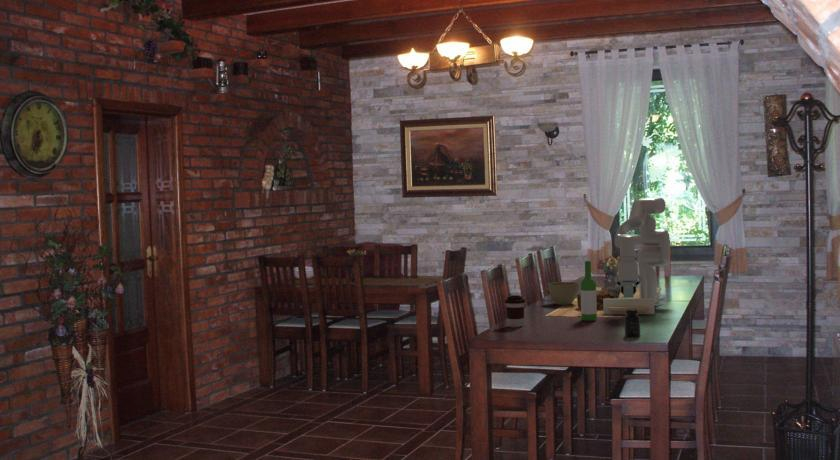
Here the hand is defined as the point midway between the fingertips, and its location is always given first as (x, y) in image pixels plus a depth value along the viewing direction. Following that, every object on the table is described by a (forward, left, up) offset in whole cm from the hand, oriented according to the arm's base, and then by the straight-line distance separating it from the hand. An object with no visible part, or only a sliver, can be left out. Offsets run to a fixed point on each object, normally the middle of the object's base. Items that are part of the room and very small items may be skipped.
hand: (628, 293), depth 437 cm
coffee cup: (+66, +6, -11) cm, 67 cm away
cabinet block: (0, 0, -2) cm, 2 cm away
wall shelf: (-2, -3, -11) cm, 12 cm away
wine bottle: (+26, +6, -11) cm, 29 cm away
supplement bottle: (+30, +55, -11) cm, 63 cm away
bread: (+3, -31, -12) cm, 33 cm away
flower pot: (+11, -54, -11) cm, 56 cm away
